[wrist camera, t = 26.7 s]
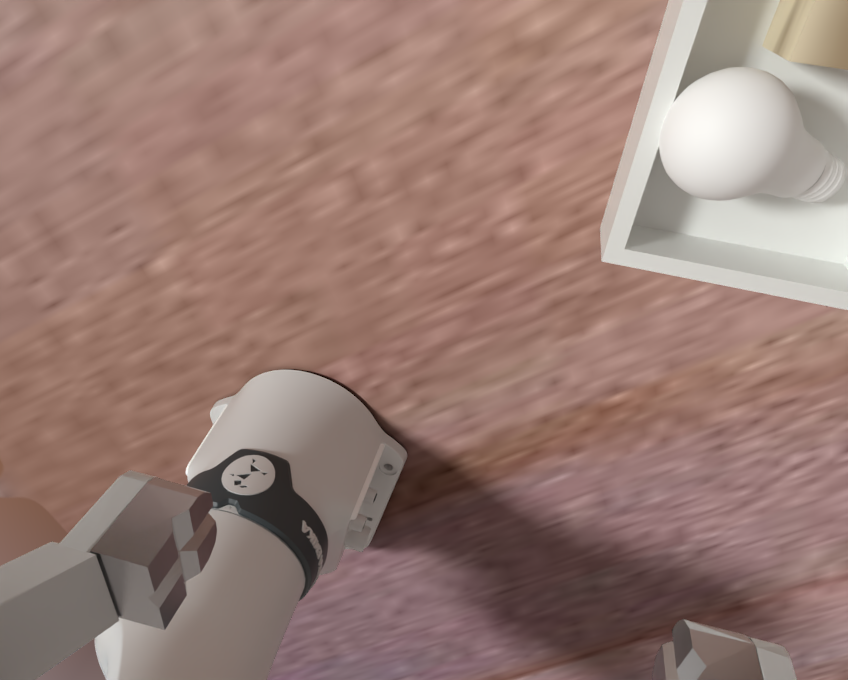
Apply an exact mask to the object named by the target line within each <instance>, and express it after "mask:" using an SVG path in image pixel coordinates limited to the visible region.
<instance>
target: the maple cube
mask: <svg viewBox="0 0 848 680" xmlns="http://www.w3.org/2000/svg"><path fill="white" fill-rule="evenodd" d="M762 47H764V48H766V49H768V50H770V51H772V52H773V53H775V54H777V55H779V56H781V57H782V58H784V59H786V60H788V61H790V62H797V63H804V64H811V65H818V66H825V67H831V68H838V69H845V70H848V0H780V2H779V4H778V7H777V9H776V12H775V14H774V17H773V19H772V22H771V24H770V27H769V30H768V32H767V35H766V37H765V40H764V42H763V45H762Z"/></svg>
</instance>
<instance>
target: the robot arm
mask: <svg viewBox="0 0 848 680" xmlns="http://www.w3.org/2000/svg"><path fill="white" fill-rule="evenodd" d="M210 417H211V420H212V422H213V426H212V428H211V429H210V431H209V432H208V434H207V436H206V437H205V439H204V440H203V442H202V443H201V445H200V446H199V448H198V450H197V451H196V453H195V454H194V456H193V457H192V459H191V461H190V462H189V464H188V466H187V468H186V475H187V476H188V482H189V483H188V484H187V486H185V485H181V484H178V483H174V482H171V481H167V480H164V479H160V478H158V477H154V476H150V475H147V474H143V473H139V472H135V471H132V470H130V471H128V472H126V473H124V474H123V475H121V476H120V477H119V478H118V479H117V480H116V481H115V482H114V483H113V484H112V485H111V487H110V488H109V489H108V490H107V491H106V492H105V493H104V494H103V495H102V497H101V498H100V499H99V500H98V501H97V502H96V503H95V504H94V505H93V507H92V508H91V509H90V510H89V511H88V512H87V513H86V514H85V516H84V517H83V518H82V519H81V520H80V521H79V522H78V523H77V524H76V526H75V527H74V528H73V529H72V530H71V531H70V532H69V533H68V535H67V536H66V537H65V538H64V539H63V540H62V541H61V542H60V543H56V542H50V543H48V544H45V545H44V546H41V547H40V548H37V549H35V550H33V551H31V552H29V553H27V554H25V555H23V556H20V557H19V558H17V559H14V560H12V561H10V562H8V563H6V564H4V565H2V566H0V680H36V679H37V678H38V677H40V676H41V675H43V674H44V673H46V672H47V671H49V670H50V669H51V668H53V667H54V666H56V665H57V664H59V663H60V662H61V661H63V660H64V659H65V658H67V657H69V656H70V655H71V654H73V653H74V652H76V651H77V650H78V649H80V648H81V647H83V646H84V645H85V644H87V643H88V642H90V641H91V640H92V639H94V638H95V649H96V654H97V657H98V661H99V664H100V666H101V669H102V671H103V674H104V676H105V678H106V680H267V678H268V675H269V673H270V670H271V667H272V665H273V662H274V659H275V657H276V654H277V652H278V649H279V647H280V644H281V642H282V639H283V637H284V634H285V632H286V630H287V627H288V625H289V622H290V620H291V618H292V615H293V613H294V611H295V608H296V606H297V604H298V601H300V600H301V599H302V598H303V597H305V595H306V594H307V593H308V591H309V590H310V589H311V588H312V587H313V585H314V584H315V582H316V580H317V579H318V577H319V575H322V574H327V573H331V572H333V571H335V570H336V569H337V567H338V565H339V563H340V560H341V558H342V555H343V553H344V550H345V549H353V550H356V551H359V552H363V550H364V548H365V547H367V546H369V544H370V542H371V540H372V538H373V536H374V534H375V532H376V529H377V527H378V525H379V522H380V520H381V518H382V515H383V513H384V511H385V508H386V506H387V504H388V501H389V499H390V497H391V494H392V492H393V490H394V487H395V485H396V483H397V480H398V478H399V476H400V473H401V471H402V469H403V466H404V464H405V462H406V459H407V452H406V450H405V449H404V448H403V447H402V446H401V445H400V444H399V443H398V442H396V441H395V440H394V439H393V438H391V437H390V436H389V435H387V434H386V433H385V432H384V431H383V430H382V429H381V427H380V426H379V425H378V423H377V422H376V420H375V419H374V417H373V416H372V414H371V413H370V411H369V410H368V409H367V408H366V407H365V405H364V404H363V403H362V402H361V401H360V400H359V399H357V398H356V397H355V396H354V395H353V394H351V393H350V392H349V391H347V390H346V389H345V388H343V387H341V386H340V385H338V384H336V383H334V382H332V381H330V380H328V379H326V378H324V377H321V376H318V375H315V374H312V373H308V372H304V371H298V370H274V371H269V372H266V373H263V374H260V375H258V376H256V377H254V378H253V379H251V380H250V381H248V382H247V383H246V384H245V385H244V387H243V388H242V389H241V390H240V391H239V392H238V393H237V394H236V395H234V396H231V397H227V398H224V399H222V400H219V401H217V402H216V403H215V404H214V406H213V408H212V409H211V411H210ZM672 634H673V641H671V642H668V643H665V644H662V646H661V648H660V650H659V651H658V653H657V655H656V658H655V662H654V667H653V671H652V680H797V678H796V675H795V671H794V668H793V664H792V661H791V658H790V655H789V653H788V652H787V650H786V649H785V648H784V647H783V646H781V645H779V644H776V643H772V642H768V641H764V640H760V639H756V638H752V637H748V636H746V635H744V634H740V633H736V632H732V631H728V630H724V629H720V628H716V627H712V626H708V625H704V624H700V623H696V622H692V621H689V620H685V619H683V620H680V621H678V622H677V623H676V625H675V626H674V628H673V629H672Z"/></svg>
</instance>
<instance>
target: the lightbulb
mask: <svg viewBox="0 0 848 680" xmlns="http://www.w3.org/2000/svg"><path fill="white" fill-rule="evenodd" d="M659 150H660V156H661V161H662V163H663V166H664V168H665V170H666V173H667V174H668V176H669V177H670V178H671V179H672V180H673V182H674V183H675V184H676V185H677V186H678V187H680V188H681V189H682V190H684V191H685V192H687V193H689V194H690V195H693V196H695V197H698V198H701V199H706V200H715V201H725V200H732V199H737V198H742V197H746V196H750V195H753V194H756V193H766V194H771V195H774V196H777V197H782V198H789V197H792V198H795V199H798V200H801V201H805V202H808V203H819V202H822V201H825V200H827V199H829V198H830V197H832V196H833V195H834V194H835V193H836V192H837V191H838V190H839V189H840V188H841V186H842V184H843V183H844V180H845V177H846V167H845V164H844V163H843V162H842V161H841V160H840V159H839V158H837V157H835V156H834V155H833V154H832V153H830V152H828V151H827V150H825V147H824V146H823V145H822V143H821V142H820V141H818V140H817V139H815V138H814V137H812V136H811V135H810V134H809V133H808V132H807V131H806V130H805V128H804V126H803V120H802V116H801V113H800V110H799V107H798V104H797V101H796V99H795V96H794V95H793V93H792V92H791V91H790V89H789V88H788V87H787V86H786V85H785V83H784V82H783V81H782V80H780V79H779V78H777V77H776V76H774V75H772V74H770V73H769V72H767V71H763V70H759V69H754V68H750V67H731V68H726V69H723V70H719V71H716V72H712V73H710V74H708V75H706V76H704V77H702V78H700V79H698V80H696V81H695V82H693V83H692V84H691V85H689V86H688V87H687V88H686V89H685V90H684V91H683V92H682V93H681V94H680V95H679V96H678V97H677V98H676V100H675V101H674V103H673V104H672V106H671V107H670V109H669V110H668V112H667V114H666V116H665V119H664V121H663V124H662V128H661V132H660V136H659Z"/></svg>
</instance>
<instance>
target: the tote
mask: <svg viewBox="0 0 848 680" xmlns="http://www.w3.org/2000/svg"><path fill="white" fill-rule="evenodd" d="M779 2H780V0H669V1H668V4H667V8H666V11H665V14H664V18H663V21H662V24H661V28H660V31H659V34H658V38H657V41H656V44H655V47H654V51H653V54H652V57H651V61H650V64H649V67H648V71H647V74H646V77H645V81H644V84H643V87H642V91H641V94H640V97H639V101H638V104H637V107H636V110H635V114H634V117H633V120H632V124H631V127H630V130H629V134H628V137H627V140H626V144H625V147H624V150H623V154H622V157H621V160H620V164H619V167H618V170H617V173H616V177H615V180H614V183H613V187H612V190H611V193H610V197H609V200H608V203H607V207H606V210H605V213H604V217H603V220H602V223H601V227H600V238H601V259H602V262H607V263H612V264H617V265H623V266H628V267H633V268H638V269H643V270H648V271H653V272H658V273H663V274H668V275H673V276H678V277H683V278H688V279H693V280H698V281H704V282H709V283H714V284H719V285H724V286H729V287H734V288H739V289H744V290H749V291H754V292H759V293H764V294H769V295H774V296H779V297H785V298H790V299H795V300H800V301H805V302H810V303H815V304H820V305H825V306H830V307H835V308H840V309H845V310H848V70H845V69H838V68H831V67H825V66H818V65H811V64H804V63H797V62H790V61H788V60H786V59H784V58H782V57H781V56H779V55H777V54H775V53H773V52H772V51H770V50H768V49H766V48H764V47H762V45H763V42H764V40H765V37H766V35H767V32H768V30H769V27H770V24H771V22H772V19H773V17H774V14H775V12H776V9H777V7H778V4H779ZM731 67H750V68H754V69H759V70H763V71H767V72H769V73H770V74H772V75H774V76H776V77H777V78H779V79H780V80H782V81H783V82H784V83H785V85H786V86H787V87H788V88H789V89H790V91H791V92H792V93H793V95H794V96H795V99H796V101H797V104H798V107H799V110H800V113H801V116H802V120H803V126H804V128H805V130H806V131H807V132H808V133H809V134H810V135H811V136H812V137H814V138H815V139H817V140H818V141H820V142H821V143H822V145H823V146H824V147H825V150H827V151H828V152H830V153H832V154H833V155H834V156H835V157H837V158H839V159H840V160H841V161H842V162H843V163H844V164H845V167H846V177H845V180H844V183H843V184H842V186H841V188H840V189H839V190H838V191H837V192H836V193H835V194H834V195H833V196H832V197H830V198H829V199H827V200H825V201H822V202H819V203H808V202H805V201H801V200H798V199H795V198H792V197H789V198H782V197H777V196H774V195H771V194H766V193H756V194H753V195H750V196H746V197H742V198H737V199H732V200H725V201H715V200H706V199H701V198H698V197H695V196H693V195H690V194H689V193H687V192H685V191H684V190H682V189H681V188H680V187H678V186H677V185H676V184H675V183H674V182H673V180H672V179H671V178H670V177H669V176H668V174H667V173H666V170H665V168H664V166H663V163H662V161H661V156H660V150H659V136H660V132H661V128H662V124H663V121H664V119H665V116H666V114H667V112H668V110H669V109H670V107H671V106H672V104H673V103H674V101H675V100H676V98H677V97H678V96H679V95H680V94H681V93H682V92H683V91H684V90H685V89H686V88H687V87H688V86H689V85H691V84H692V83H693V82H695V81H696V80H698V79H700V78H702V77H704V76H706V75H708V74H710V73H712V72H716V71H719V70H723V69H726V68H731Z"/></svg>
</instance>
